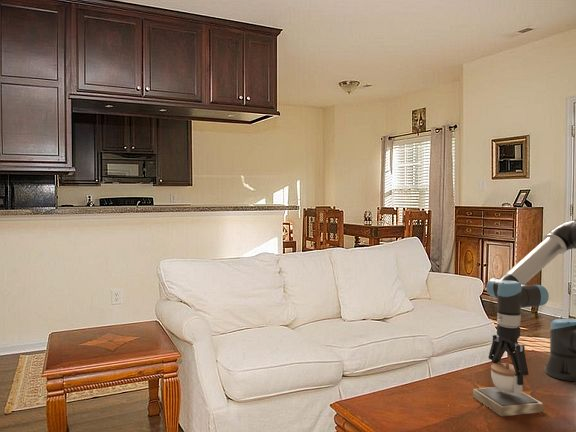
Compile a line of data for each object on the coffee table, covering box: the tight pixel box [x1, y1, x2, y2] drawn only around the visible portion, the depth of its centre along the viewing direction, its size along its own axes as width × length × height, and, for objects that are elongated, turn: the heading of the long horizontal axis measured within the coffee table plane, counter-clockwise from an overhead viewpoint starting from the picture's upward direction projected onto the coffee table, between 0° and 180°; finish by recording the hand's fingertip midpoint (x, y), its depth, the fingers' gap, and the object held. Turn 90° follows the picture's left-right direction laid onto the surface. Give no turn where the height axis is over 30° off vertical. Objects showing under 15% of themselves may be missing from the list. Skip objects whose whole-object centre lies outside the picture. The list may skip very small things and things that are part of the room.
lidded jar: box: [490, 362, 525, 393], centre depth 171 cm, size 11×11×9 cm
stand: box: [472, 386, 544, 417], centre depth 171 cm, size 16×16×3 cm
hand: (506, 386), depth 171 cm, fingers closed on lidded jar, 11 cm apart
